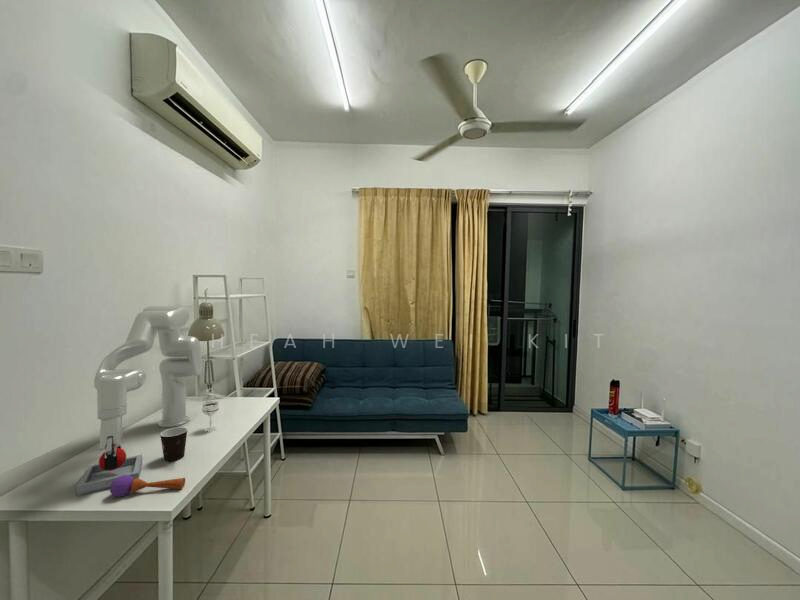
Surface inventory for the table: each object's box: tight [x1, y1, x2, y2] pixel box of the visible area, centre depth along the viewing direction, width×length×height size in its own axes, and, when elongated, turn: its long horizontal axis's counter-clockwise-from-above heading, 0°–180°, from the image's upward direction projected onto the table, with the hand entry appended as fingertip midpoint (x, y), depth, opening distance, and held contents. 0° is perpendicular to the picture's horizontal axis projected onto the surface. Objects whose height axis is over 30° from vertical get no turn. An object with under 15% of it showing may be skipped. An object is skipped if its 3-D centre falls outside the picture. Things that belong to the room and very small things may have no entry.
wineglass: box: [201, 400, 220, 432], centre depth 154 cm, size 7×7×12 cm
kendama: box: [109, 475, 186, 498], centre depth 107 cm, size 6×6×20 cm
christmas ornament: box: [98, 445, 127, 471], centre depth 114 cm, size 7×7×10 cm
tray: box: [76, 454, 143, 497], centre depth 114 cm, size 15×15×3 cm
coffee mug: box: [159, 426, 188, 463], centre depth 127 cm, size 12×9×10 cm
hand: (112, 462), depth 114 cm, fingers closed on christmas ornament, 7 cm apart
